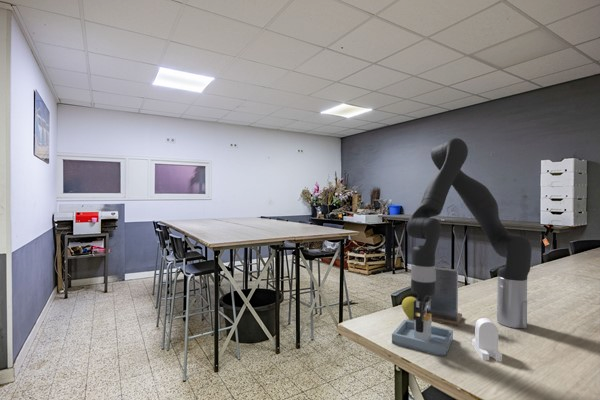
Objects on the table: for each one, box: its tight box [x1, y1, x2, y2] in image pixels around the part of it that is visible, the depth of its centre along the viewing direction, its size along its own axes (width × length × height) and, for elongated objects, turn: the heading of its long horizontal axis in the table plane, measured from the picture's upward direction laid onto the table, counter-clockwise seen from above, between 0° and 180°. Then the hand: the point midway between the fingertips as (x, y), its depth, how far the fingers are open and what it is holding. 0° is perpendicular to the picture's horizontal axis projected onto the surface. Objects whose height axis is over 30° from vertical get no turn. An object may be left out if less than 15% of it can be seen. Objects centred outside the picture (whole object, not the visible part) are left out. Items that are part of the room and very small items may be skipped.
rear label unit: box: [430, 266, 463, 327], centre depth 126 cm, size 16×10×20 cm, turn 56°
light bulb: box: [401, 296, 417, 322], centre depth 120 cm, size 7×7×10 cm
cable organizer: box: [471, 317, 503, 362], centre depth 98 cm, size 5×10×10 cm, turn 169°
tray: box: [391, 319, 454, 358], centre depth 106 cm, size 16×14×3 cm
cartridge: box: [414, 313, 433, 342], centre depth 106 cm, size 4×4×8 cm
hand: (422, 327), depth 106 cm, fingers open, 8 cm apart
